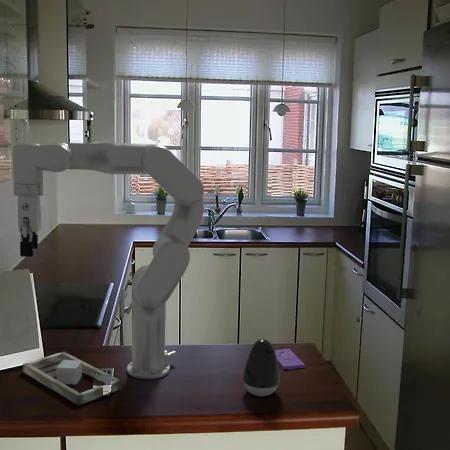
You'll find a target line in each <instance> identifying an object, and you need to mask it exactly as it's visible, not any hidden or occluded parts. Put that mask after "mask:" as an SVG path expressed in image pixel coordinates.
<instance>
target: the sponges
mask: <svg viewBox="0 0 450 450" xmlns="http://www.w3.org/2000/svg"><path fill="white" fill-rule="evenodd" d="M274 350H275V353H276V356H277V360H278V363H279V364H278V365H279V367H282V368H281V369H282V370H284V369H288V370H296V369H305V364H304V362H302V360H301V359H299V358H298V356H297V355H296V354H295V352H293V351H292V349H290V348H284V349H274Z"/></svg>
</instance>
